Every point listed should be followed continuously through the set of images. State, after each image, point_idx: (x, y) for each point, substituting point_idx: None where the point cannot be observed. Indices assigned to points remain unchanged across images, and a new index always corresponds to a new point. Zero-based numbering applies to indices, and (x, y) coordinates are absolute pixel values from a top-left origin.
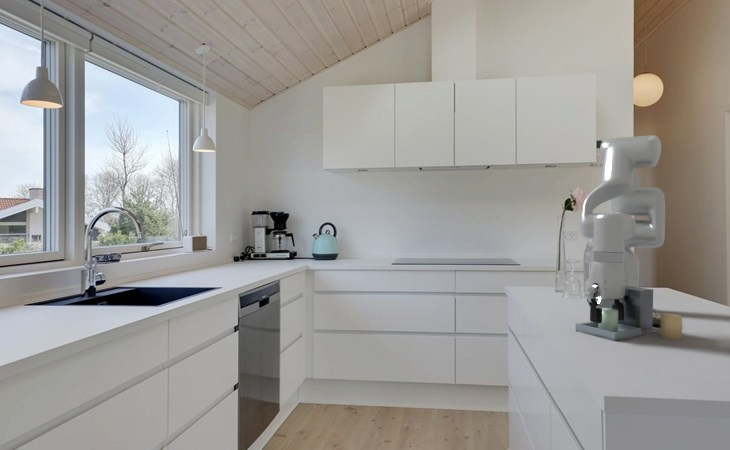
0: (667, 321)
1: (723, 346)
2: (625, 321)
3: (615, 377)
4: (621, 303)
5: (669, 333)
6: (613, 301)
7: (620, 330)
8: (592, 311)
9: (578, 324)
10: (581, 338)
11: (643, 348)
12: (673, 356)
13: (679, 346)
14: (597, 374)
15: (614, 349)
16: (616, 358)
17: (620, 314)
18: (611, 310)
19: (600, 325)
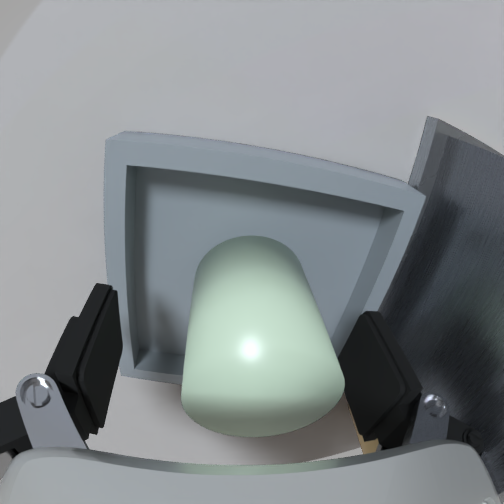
0: (365, 451)
1: (348, 450)
2: (397, 333)
3: None
4: (377, 450)
5: (353, 419)
6: (414, 420)
7: (328, 308)
8: (56, 364)
9: (106, 164)
10: (25, 250)
11: (140, 411)
12: (145, 446)
13: (265, 437)
14: None
15: (43, 372)
16: (2, 385)
17: (347, 385)
18: (243, 421)
19: (193, 290)
